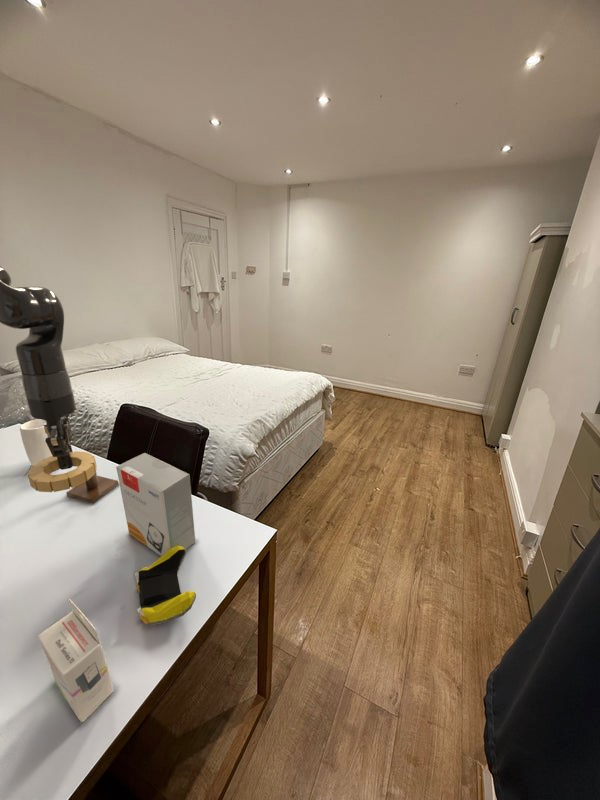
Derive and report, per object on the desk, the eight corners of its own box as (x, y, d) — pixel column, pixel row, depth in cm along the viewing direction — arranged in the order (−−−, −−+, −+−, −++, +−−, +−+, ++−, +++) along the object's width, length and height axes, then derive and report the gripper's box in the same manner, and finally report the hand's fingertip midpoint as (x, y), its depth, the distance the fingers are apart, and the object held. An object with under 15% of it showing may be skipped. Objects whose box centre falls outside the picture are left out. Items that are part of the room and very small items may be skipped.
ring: (15, 484, 64) (12, 474, 63) (69, 456, 74) (67, 447, 73) (60, 498, 61) (57, 487, 60) (109, 466, 71) (107, 457, 70)
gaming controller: (185, 558, 73) (136, 574, 68) (183, 540, 71) (133, 555, 66) (199, 618, 61) (141, 642, 56) (197, 597, 59) (136, 621, 54)
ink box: (54, 684, 50) (29, 621, 45) (88, 655, 54) (69, 594, 48) (81, 726, 46) (57, 661, 40) (116, 691, 50) (98, 628, 44)
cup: (25, 472, 99) (11, 431, 94) (38, 457, 107) (26, 419, 101) (56, 469, 101) (45, 429, 96) (67, 455, 109) (57, 417, 104)
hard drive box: (127, 535, 78) (114, 465, 71) (155, 516, 84) (145, 451, 77) (171, 564, 71) (161, 490, 64) (197, 541, 77) (191, 472, 70)
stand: (67, 496, 90) (58, 464, 86) (94, 478, 98) (87, 448, 94) (93, 503, 88) (85, 471, 84) (118, 484, 96) (113, 454, 92)
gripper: (33, 382, 69) (51, 452, 75) (17, 406, 57) (40, 486, 64) (75, 379, 72) (89, 446, 78) (68, 401, 61) (85, 477, 67)
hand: (67, 464), depth 71 cm, fingers closed on ring, 2 cm apart
